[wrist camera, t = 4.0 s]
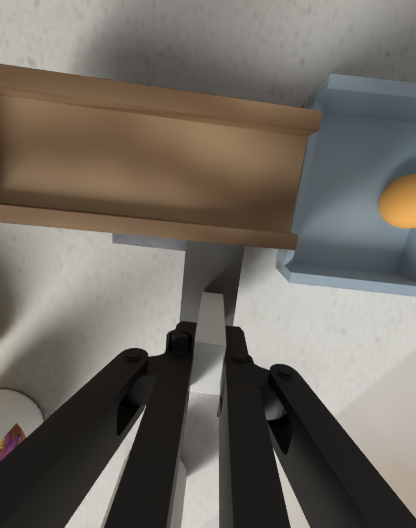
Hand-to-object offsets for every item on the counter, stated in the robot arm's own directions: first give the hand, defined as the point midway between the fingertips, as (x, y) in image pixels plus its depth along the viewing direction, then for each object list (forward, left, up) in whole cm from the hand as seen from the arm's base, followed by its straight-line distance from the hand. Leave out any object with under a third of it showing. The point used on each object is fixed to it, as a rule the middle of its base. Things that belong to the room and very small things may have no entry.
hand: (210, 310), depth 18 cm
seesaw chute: (-7, +1, -1) cm, 7 cm away
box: (+3, +14, -6) cm, 16 cm away
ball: (+5, +16, -3) cm, 17 cm away
